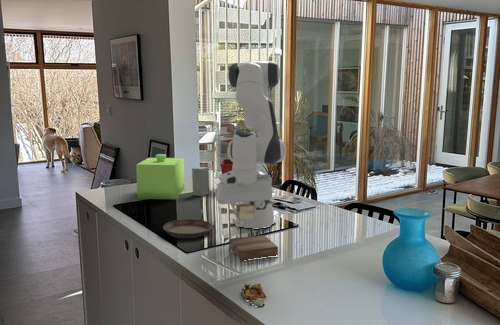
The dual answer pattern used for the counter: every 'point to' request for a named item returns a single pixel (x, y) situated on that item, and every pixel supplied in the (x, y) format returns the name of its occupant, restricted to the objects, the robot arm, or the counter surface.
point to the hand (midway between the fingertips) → (244, 213)
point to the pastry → (254, 294)
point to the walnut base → (253, 247)
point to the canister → (160, 178)
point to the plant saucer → (187, 228)
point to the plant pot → (226, 165)
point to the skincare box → (200, 181)
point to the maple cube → (245, 211)
